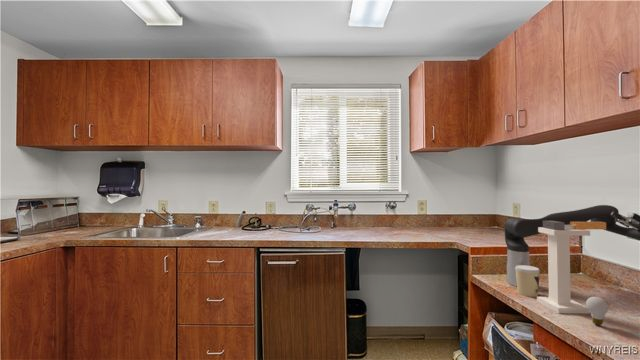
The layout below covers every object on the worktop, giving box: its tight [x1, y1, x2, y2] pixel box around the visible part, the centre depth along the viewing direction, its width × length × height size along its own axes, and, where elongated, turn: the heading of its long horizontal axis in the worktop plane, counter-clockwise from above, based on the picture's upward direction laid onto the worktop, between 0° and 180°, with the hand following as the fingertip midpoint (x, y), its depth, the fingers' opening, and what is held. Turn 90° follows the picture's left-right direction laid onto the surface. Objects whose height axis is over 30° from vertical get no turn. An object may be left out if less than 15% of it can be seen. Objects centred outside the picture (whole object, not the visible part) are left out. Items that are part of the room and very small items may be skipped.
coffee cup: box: [515, 265, 541, 298], centre depth 138 cm, size 9×9×12 cm
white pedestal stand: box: [536, 227, 591, 314], centre depth 123 cm, size 12×14×32 cm
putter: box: [543, 221, 606, 230], centre depth 123 cm, size 6×22×3 cm, turn 89°
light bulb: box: [585, 296, 610, 327], centre depth 107 cm, size 6×6×10 cm
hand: (622, 214), depth 123 cm, fingers open, 8 cm apart
